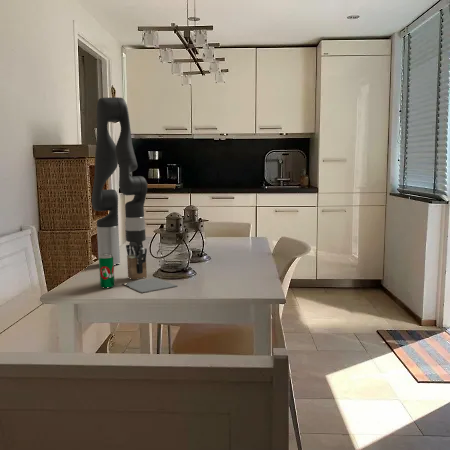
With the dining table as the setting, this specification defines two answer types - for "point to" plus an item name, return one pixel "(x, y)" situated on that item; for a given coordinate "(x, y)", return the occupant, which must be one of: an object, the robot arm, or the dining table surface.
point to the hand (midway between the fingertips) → (137, 272)
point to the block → (135, 268)
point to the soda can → (106, 270)
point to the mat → (150, 285)
